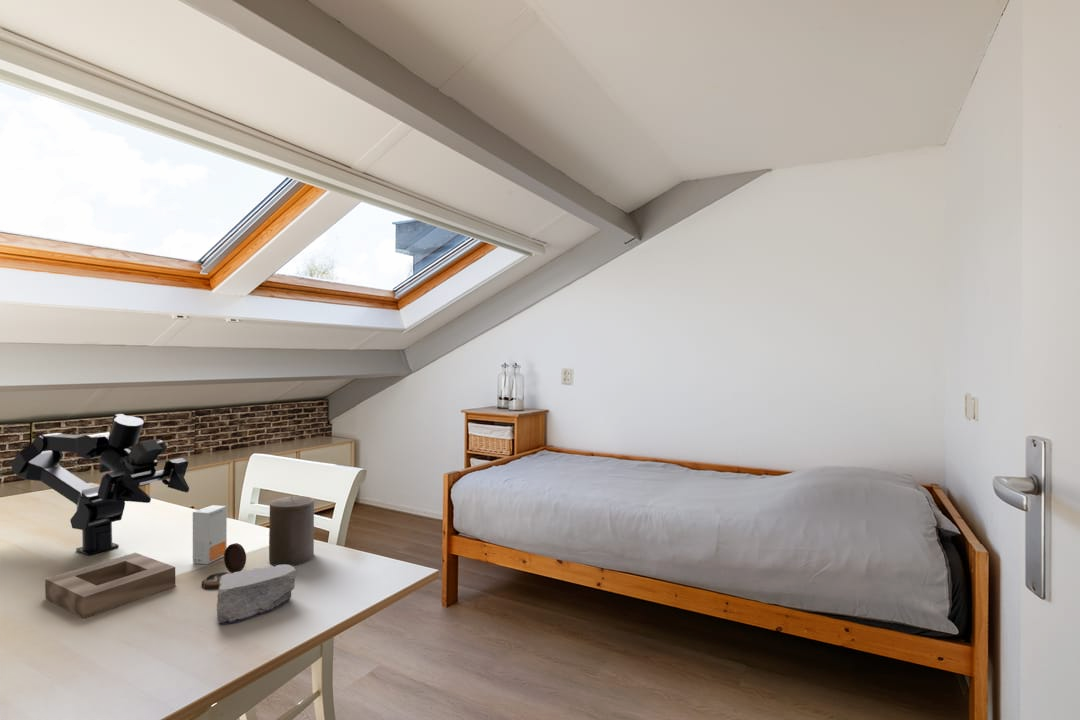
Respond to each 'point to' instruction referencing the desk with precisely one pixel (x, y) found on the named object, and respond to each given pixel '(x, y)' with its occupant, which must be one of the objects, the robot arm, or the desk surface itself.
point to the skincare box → (209, 534)
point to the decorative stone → (253, 592)
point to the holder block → (109, 584)
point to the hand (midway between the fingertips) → (169, 495)
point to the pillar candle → (291, 530)
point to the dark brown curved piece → (227, 565)
